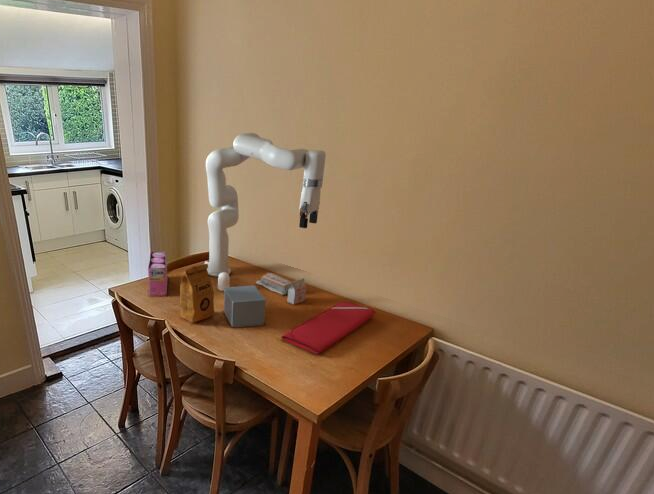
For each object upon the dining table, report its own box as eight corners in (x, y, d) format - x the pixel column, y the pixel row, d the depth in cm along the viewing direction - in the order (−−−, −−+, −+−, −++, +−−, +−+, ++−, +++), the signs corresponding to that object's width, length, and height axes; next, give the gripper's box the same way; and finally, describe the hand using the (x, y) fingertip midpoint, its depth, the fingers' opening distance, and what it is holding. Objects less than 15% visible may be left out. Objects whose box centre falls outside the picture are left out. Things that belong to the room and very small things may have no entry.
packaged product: (299, 281, 185) (283, 286, 180) (298, 291, 187) (282, 296, 182) (271, 270, 199) (256, 274, 194) (270, 279, 201) (255, 283, 196)
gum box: (152, 277, 205) (150, 251, 200) (167, 276, 206) (166, 250, 200) (149, 296, 184) (147, 267, 178) (166, 296, 184) (165, 267, 178)
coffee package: (217, 317, 164) (218, 265, 154) (192, 326, 157) (191, 272, 148) (202, 309, 171) (202, 259, 162) (177, 317, 165) (176, 265, 155)
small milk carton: (287, 301, 177) (289, 280, 173) (298, 298, 180) (300, 276, 176) (293, 304, 174) (295, 282, 170) (304, 300, 177) (307, 279, 173)
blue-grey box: (223, 311, 169) (224, 287, 165) (253, 308, 171) (254, 285, 166) (232, 327, 156) (233, 302, 152) (264, 324, 158) (265, 299, 153)
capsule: (215, 288, 191) (215, 272, 188) (224, 285, 194) (224, 269, 191) (222, 291, 187) (223, 275, 184) (231, 289, 190) (232, 273, 187)
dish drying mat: (280, 339, 148) (281, 330, 146) (339, 306, 172) (340, 298, 171) (318, 356, 137) (319, 347, 135) (376, 318, 162) (377, 309, 160)
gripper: (312, 179, 172) (308, 220, 180) (294, 185, 160) (290, 228, 167) (329, 181, 168) (324, 222, 175) (312, 187, 156) (307, 231, 163)
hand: (308, 225), depth 171 cm, fingers open, 9 cm apart
